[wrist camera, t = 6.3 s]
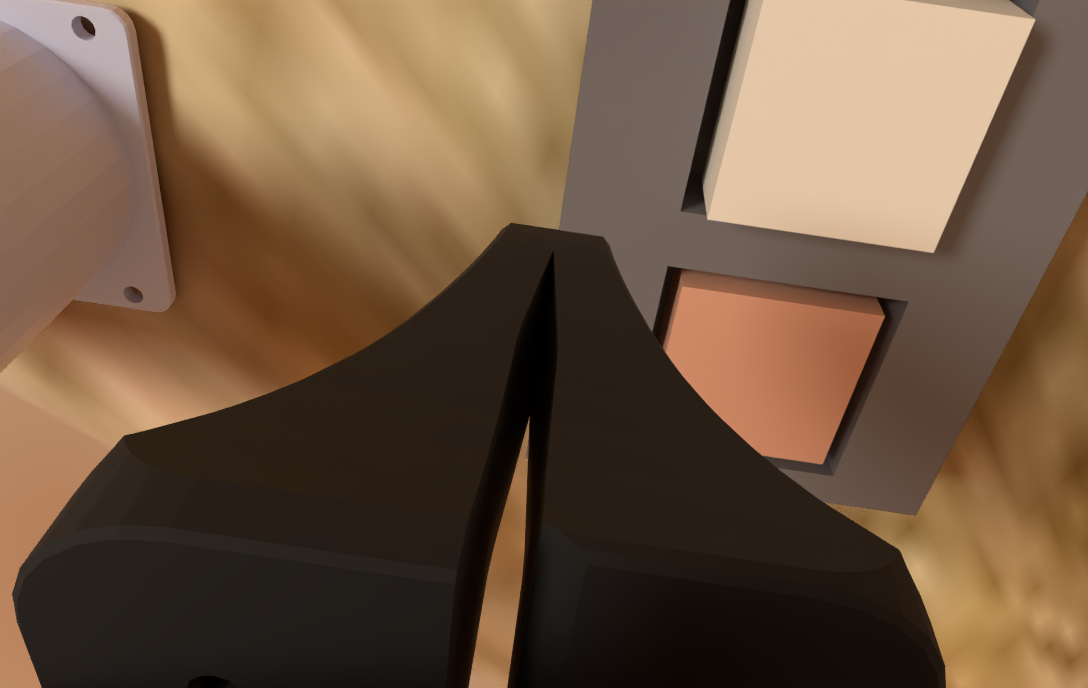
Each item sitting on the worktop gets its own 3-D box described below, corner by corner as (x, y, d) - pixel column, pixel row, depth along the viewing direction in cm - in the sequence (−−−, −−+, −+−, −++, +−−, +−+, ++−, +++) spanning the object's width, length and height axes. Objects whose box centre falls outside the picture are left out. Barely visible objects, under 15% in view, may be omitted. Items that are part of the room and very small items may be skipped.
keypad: (536, 385, 25) (525, 457, 22) (689, -661, 13) (701, -751, 11) (887, 437, 25) (915, 515, 22) (1356, -565, 13) (1525, -632, 10)
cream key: (701, 180, 18) (707, 219, 17) (756, -44, 16) (768, -20, 14) (910, 210, 18) (933, 253, 17) (998, -8, 16) (1035, 19, 14)
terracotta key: (644, 392, 23) (644, 437, 21) (678, 245, 20) (682, 286, 19) (810, 417, 23) (822, 464, 21) (867, 273, 20) (884, 316, 19)
